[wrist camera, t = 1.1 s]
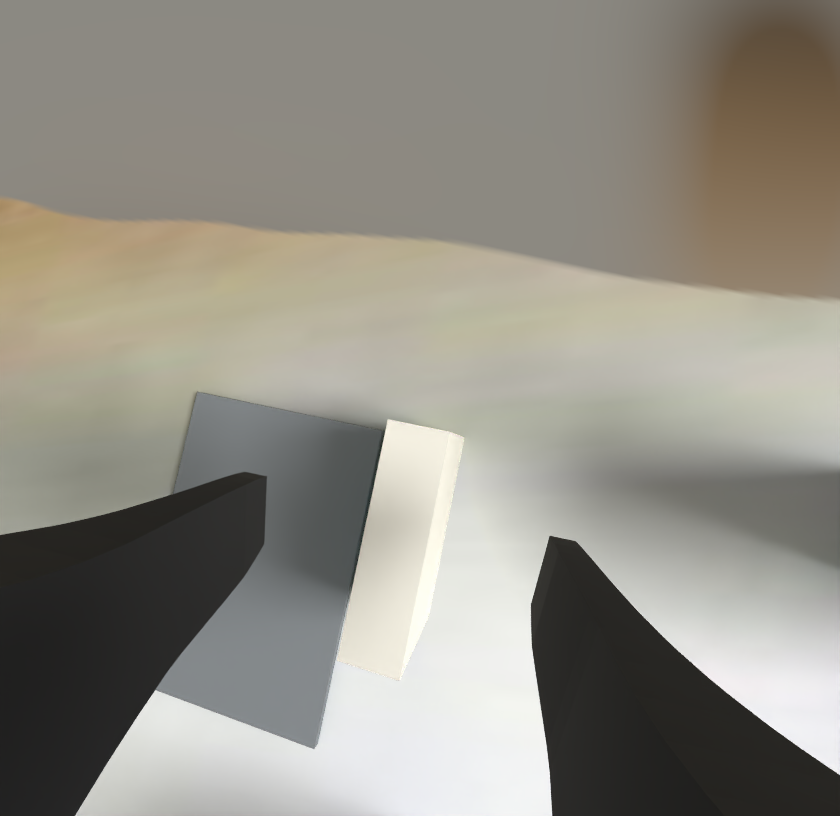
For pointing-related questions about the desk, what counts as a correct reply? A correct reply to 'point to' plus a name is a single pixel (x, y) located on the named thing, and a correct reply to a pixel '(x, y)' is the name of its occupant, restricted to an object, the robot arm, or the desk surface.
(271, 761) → the desk surface
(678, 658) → the robot arm
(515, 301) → the desk surface
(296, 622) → the mat
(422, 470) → the block
